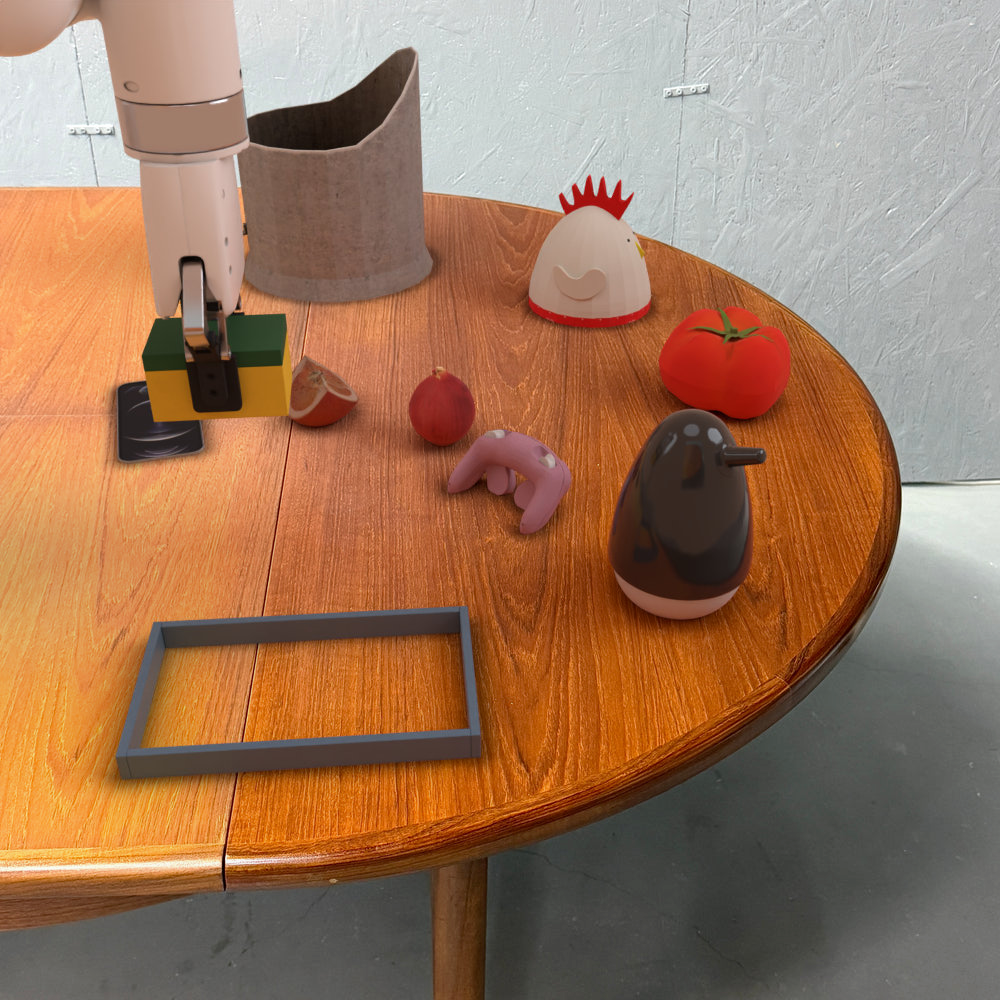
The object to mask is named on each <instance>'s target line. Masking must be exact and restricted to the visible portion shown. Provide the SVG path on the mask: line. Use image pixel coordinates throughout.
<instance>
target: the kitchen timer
mask: <svg viewBox="0 0 1000 1000" xmlns="http://www.w3.org/2000/svg"><path fill="white" fill-rule="evenodd" d="M598 183H599V184H598V189H597V193H596V194H595V189H594V184H593V178H592V174H588V175H587V177H586V179H585V184H584V189H583V193H582V192H581V190H580V188H579V186H578V184H577V183H573V184H572V185H571V194H572V197H573V204H571V203H569V201H568V200H567V198H566V197H565V194H564V193H563V192H559V194H558V199H559V202H560V206H561V208H562V211H563V213H564V216H563V217H562V218H561V219H560V220H559V221H557V223H556V224H555V226H554V227H553V228H552V229H551V230H550V232H549V233H548V234H547V236H546V238H545V240H544V241H543V244H542V245H541V247H540V249H539V252H538V255H537V257H536V260H535V263H534V267H533V270H532V272H531V276H530V281H529V286H528V306H529V308H530V309H531V311H532V312H533V313H535V314H536V315H538V316H539V317H541V318H543V319H546V320H547V321H551V322H552V323H556V324H560V325H564V326H570V327H576V328H590V329H596V328H597V329H598V328H611V327H612V328H613V327H617V326H618V327H619V326H623V325H624V326H625V325H627V324H630V323H632V322H636V321H638V320H641V318H643V317H644V316H645V315H647V314H648V312H649V310H650V308H651V302H652V291H651V282H650V278H649V274H648V268H647V264H646V260H645V254H646V253H645V250H643V248H642V246H641V244H640V241H639V239H638V237H637V235H636V234H635V232H634V230H633V229H632V227H631V226H630V225H629V223H628V222H627V221H626V220H625V219H624V218H623V216H624V214H625V212H626V211H627V209H628V207H629V206H630V204H631V202H632V200H633V198H634V195H635V192H634V191H633V192H632V193H630V195H629V196H627V198H626V199H623V198H622V189H623V187H622V186H623V185H622V184H623V183H622V179H621V178H620V179H619V180H618V181H617V183H616V185H615V187H614V189H613V191H612V194H611V197H609V196H608V191H607V183H606V179H605V176H604V175H602V176H601V178H600V179H599V182H598Z"/></svg>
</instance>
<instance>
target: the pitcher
mask: <svg viewBox="0 0 1000 1000" xmlns="http://www.w3.org/2000/svg"><path fill="white" fill-rule="evenodd" d="M419 63H420V62H419V52H418V51H417V50H416V49H415V48H414V47H413V46H407V47H403V48H399V49H396V50H395V51H394V52H393V53H391V54H390V55H389V56H388V57H387V58H386V59H384V60H383V61H382V62H381V63H380V64H379V65H377V66H376V67H375V68H374V69H373V70H372V71H370V72H369V73H368V74H367V75H366V76H364V77H363V78H362V79H361V80H360V81H359V82H358V83H357V84H355V85H354V86H352V87H350V88H349V89H347V90H345V91H344V92H342V93H339V94H338V95H336V96H334V97H333V98H331V99H329V100H323V101H316V102H312V103H305V104H297V105H290V106H284V107H277V108H272V109H269V110H265V111H261V112H256V113H254V114H252V115H250V116H247V123H248V132H249V139H250V145H249V147H248V148H247V149H246V150H243V151H242V152H240V153H238V154H236V159H237V166H238V167H237V168H238V173H239V174H238V175H239V180H240V189H241V197H242V205H243V215H244V221H245V222H242V230H243V237H245V236H247V245H248V253H247V256H246V260H245V265H244V277H245V280H246V281H247V282H248V283H249V284H251V286H253V287H254V288H255V289H256V290H258V291H261V292H263V293H266V294H269V295H272V296H274V297H277V298H282V299H288V300H294V301H300V302H305V303H306V302H307V303H345V302H347V303H348V302H354V301H365V300H372V299H377V298H381V297H385V296H388V295H393V294H398V293H400V292H402V291H404V290H406V289H409V288H411V287H414V286H416V285H418V284H420V283H421V282H422V281H423V280H424V279H426V278H427V277H428V276H429V275H430V274H431V272H432V269H433V265H434V261H433V258H432V256H431V254H430V252H429V249H428V247H427V244H426V234H425V205H424V202H425V201H424V177H423V176H424V175H423V149H422V123H421V120H422V119H421V118H422V117H421V99H420V98H421V97H420V95H421V93H420V67H419V66H420V65H419Z"/></svg>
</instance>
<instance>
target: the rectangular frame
mask: <svg viewBox="0 0 1000 1000" xmlns="http://www.w3.org/2000/svg"><path fill="white" fill-rule="evenodd" d="M150 628H151V629H150V632H149V636H148V639H147V643H146V646H145V650H144V654H143V658H142V661H141V665H140V667H139V672H138V675H137V678H136V682H135V686H134V690H133V693H132V697H131V701H130V704H129V707H128V710H127V715H126V718H125V722H124V726H123V728H122V731H121V736H120V738H119V743H118V747H117V750H116V753H115V760H116V761H115V762H116V764H117V768H118V771H119V775H120V779H121V780H122V781H123V780H124V781H125V780H141V779H155V778H171V777H173V778H174V777H188V776H189V777H190V776H203V775H204V776H205V775H206V776H207V775H220V774H221V775H222V774H236V773H237V774H238V773H250V772H251V773H252V772H253V773H254V772H268V771H269V772H270V771H281V770H282V771H283V770H284V771H285V770H299V769H315V768H331V767H332V768H333V767H334V768H335V767H344V766H345V767H348V766H364V765H379V764H395V763H397V764H398V763H411V762H413V763H414V762H429V761H444V760H445V761H446V760H458V759H461V760H462V759H471V758H472V759H476V758H481V757H482V733H481V723H480V722H481V721H480V713H479V703H478V702H479V701H478V693H477V684H476V683H477V682H476V673H475V666H474V665H475V664H474V653H473V643H472V634H471V624H470V615H469V606H468V605H460V606H459V605H455V606H438V607H437V606H436V607H435V606H433V607H415V608H399V609H398V608H397V609H396V608H395V609H378V610H362V611H361V610H358V611H357V610H356V611H341V612H339V611H338V612H337V611H336V612H321V613H299V614H298V613H297V614H280V615H279V614H278V615H259V616H244V617H243V616H242V617H223V618H222V617H221V618H204V619H202V618H201V619H185V620H165V621H164V620H163V621H161V620H160V621H153V622H152V625H151V627H150ZM442 634H443V635H444V634H459V636H460V637H459V638H460V647H461V648H460V649H461V659H462V660H461V661H462V670H463V671H462V672H463V683H464V684H463V685H464V695H465V704H466V717H467V728H454V729H437V730H422V731H420V730H419V731H406V732H388V733H374V734H373V733H371V734H356V735H339V736H322V737H307V738H305V737H304V738H289V739H272V740H254V741H241V742H240V741H239V742H238V741H237V742H224V743H223V742H222V743H221V742H220V743H206V744H190V745H173V746H157V747H156V746H155V747H142V748H141V745H142V742H143V738H144V733H145V730H146V725H147V722H148V717H149V713H150V710H151V705H152V702H153V699H154V694H155V690H156V686H157V683H158V679H159V675H160V671H161V667H162V663H163V659H164V655H165V652H166V649H178V648H179V649H181V648H198V647H199V648H200V647H217V646H218V647H219V646H237V645H238V646H239V645H255V644H256V645H257V644H275V643H291V642H293V643H294V642H295V643H296V642H313V641H328V640H330V641H331V640H350V639H367V638H386V637H388V638H389V637H404V636H423V635H424V636H425V635H442Z"/></svg>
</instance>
